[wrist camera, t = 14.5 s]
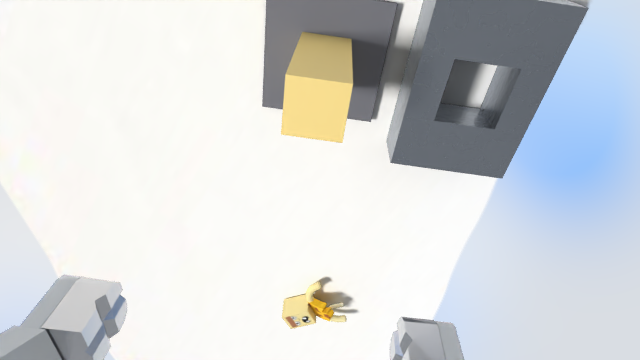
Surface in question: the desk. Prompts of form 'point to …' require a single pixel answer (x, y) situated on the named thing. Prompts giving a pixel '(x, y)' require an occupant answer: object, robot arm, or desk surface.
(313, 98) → the square block
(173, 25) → the desk surface
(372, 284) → the desk surface
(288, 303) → the character toy
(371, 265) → the desk surface
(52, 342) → the robot arm
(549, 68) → the grey block with hole
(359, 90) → the rubber mat
